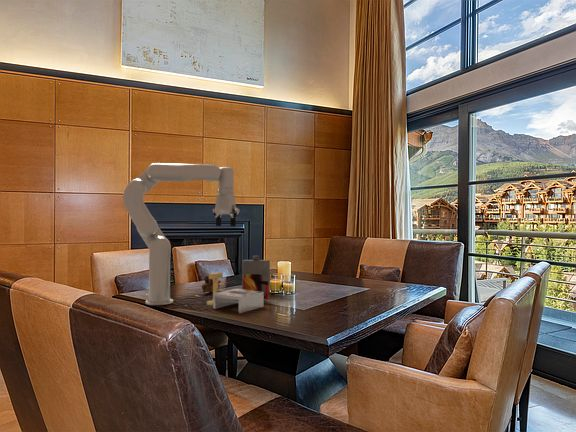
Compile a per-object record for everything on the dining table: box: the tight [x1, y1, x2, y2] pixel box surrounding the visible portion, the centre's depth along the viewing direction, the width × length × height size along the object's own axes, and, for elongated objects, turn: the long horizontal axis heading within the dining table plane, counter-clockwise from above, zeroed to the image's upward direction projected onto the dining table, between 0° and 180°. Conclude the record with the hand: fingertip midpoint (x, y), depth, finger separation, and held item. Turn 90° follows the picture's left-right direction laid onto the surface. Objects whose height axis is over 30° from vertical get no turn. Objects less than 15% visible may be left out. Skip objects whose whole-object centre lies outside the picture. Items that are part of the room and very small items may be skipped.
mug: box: [243, 274, 269, 301], centre depth 207 cm, size 10×14×12 cm
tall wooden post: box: [206, 272, 223, 307], centre depth 196 cm, size 3×8×14 cm, turn 146°
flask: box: [241, 255, 271, 295], centre depth 226 cm, size 15×6×20 cm, turn 88°
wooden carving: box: [201, 273, 222, 293], centre depth 227 cm, size 16×5×10 cm, turn 164°
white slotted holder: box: [212, 288, 265, 314], centre depth 189 cm, size 16×16×7 cm
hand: (225, 226), depth 209 cm, fingers open, 9 cm apart
